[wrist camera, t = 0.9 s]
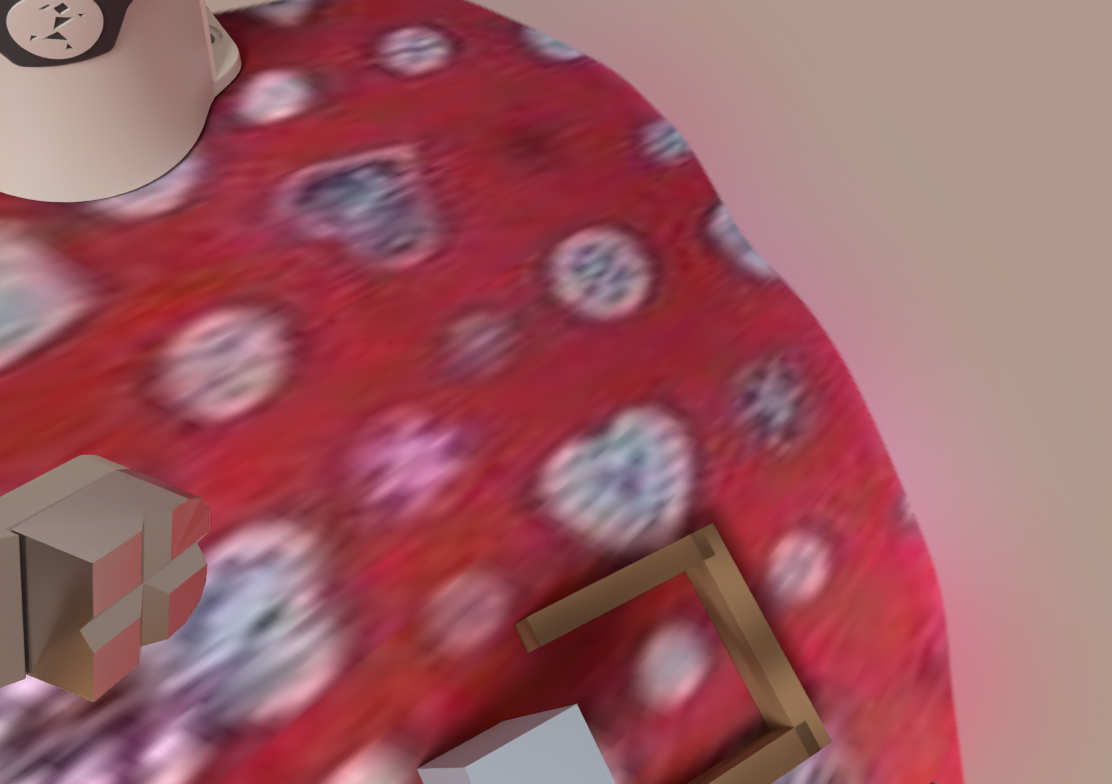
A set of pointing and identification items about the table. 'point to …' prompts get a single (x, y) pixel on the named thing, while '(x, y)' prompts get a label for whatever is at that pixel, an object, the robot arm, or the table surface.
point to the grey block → (525, 753)
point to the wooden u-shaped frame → (741, 629)
